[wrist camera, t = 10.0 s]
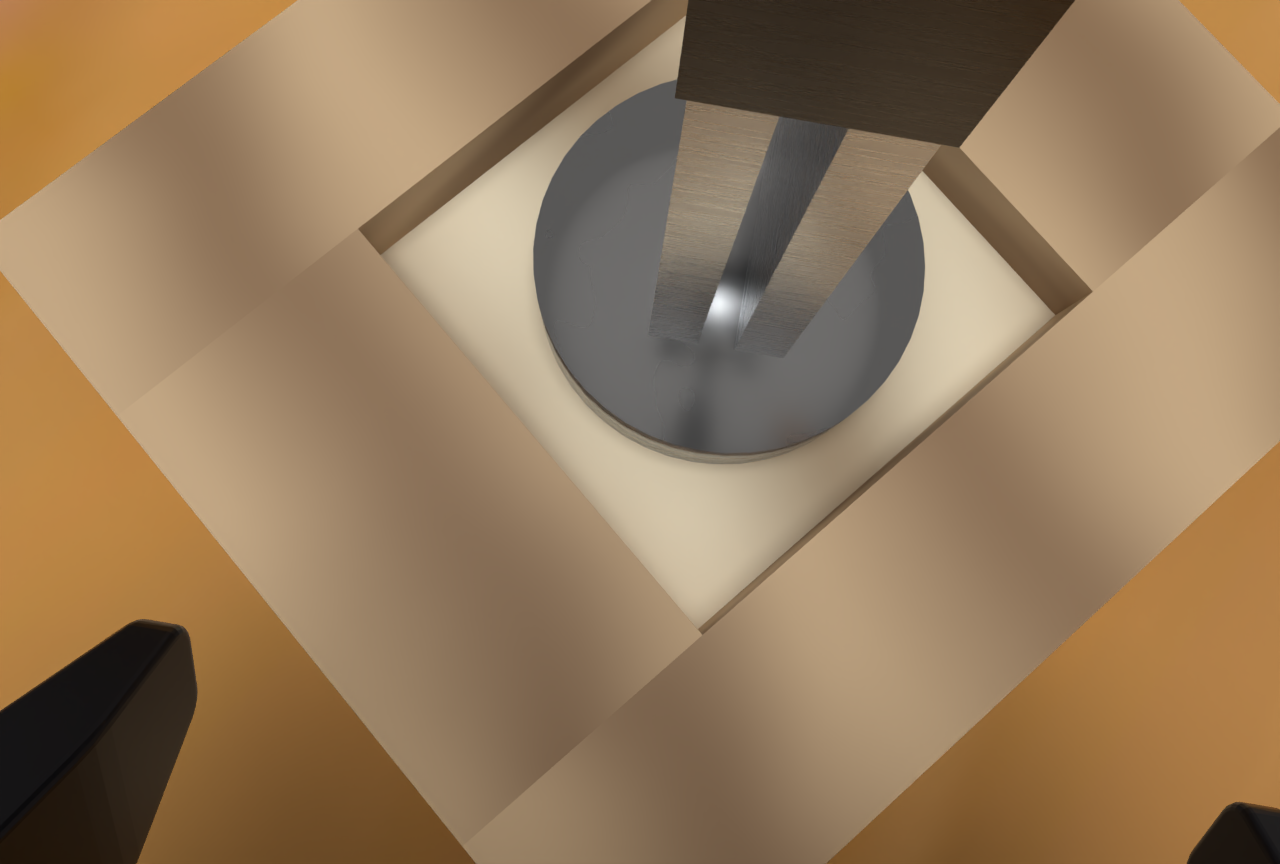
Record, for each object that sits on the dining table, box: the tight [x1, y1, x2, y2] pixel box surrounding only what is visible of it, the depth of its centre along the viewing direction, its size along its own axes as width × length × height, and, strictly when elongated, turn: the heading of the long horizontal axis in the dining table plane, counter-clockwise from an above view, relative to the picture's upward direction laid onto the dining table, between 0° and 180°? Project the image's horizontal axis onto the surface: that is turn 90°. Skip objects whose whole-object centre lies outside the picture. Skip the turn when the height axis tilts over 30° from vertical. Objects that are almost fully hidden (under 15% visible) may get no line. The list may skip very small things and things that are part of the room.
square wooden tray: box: [0, 0, 1280, 864], centre depth 19 cm, size 18×16×2 cm
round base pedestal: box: [533, 0, 1075, 464], centre depth 12 cm, size 6×6×14 cm
